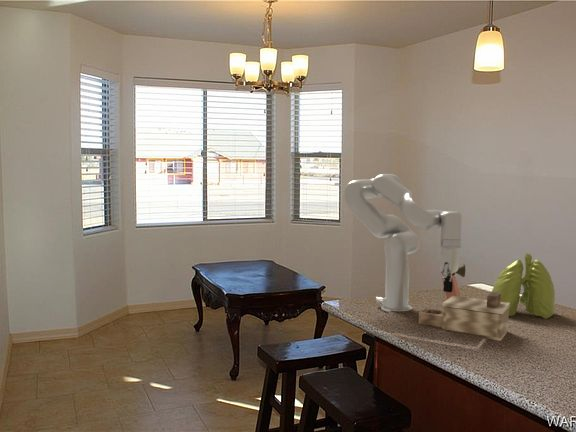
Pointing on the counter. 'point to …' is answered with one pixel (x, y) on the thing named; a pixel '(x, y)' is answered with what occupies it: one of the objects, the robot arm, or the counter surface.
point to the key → (454, 288)
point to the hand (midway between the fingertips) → (449, 290)
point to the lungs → (527, 287)
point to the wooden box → (467, 321)
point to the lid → (479, 303)
